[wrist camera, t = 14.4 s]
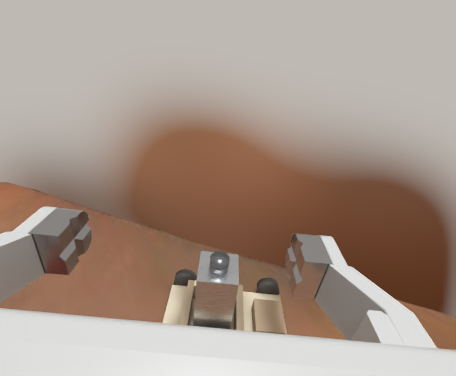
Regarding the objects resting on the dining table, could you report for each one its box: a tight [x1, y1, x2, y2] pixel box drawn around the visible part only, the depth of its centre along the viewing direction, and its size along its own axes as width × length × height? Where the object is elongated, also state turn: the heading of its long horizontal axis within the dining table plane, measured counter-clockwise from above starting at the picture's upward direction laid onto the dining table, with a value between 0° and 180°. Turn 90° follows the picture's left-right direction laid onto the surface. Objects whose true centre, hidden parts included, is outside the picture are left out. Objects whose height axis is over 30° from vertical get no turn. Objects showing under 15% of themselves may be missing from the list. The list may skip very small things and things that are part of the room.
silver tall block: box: [193, 251, 239, 329], centre depth 34 cm, size 5×5×12 cm
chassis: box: [163, 269, 287, 335], centre depth 37 cm, size 18×14×4 cm
